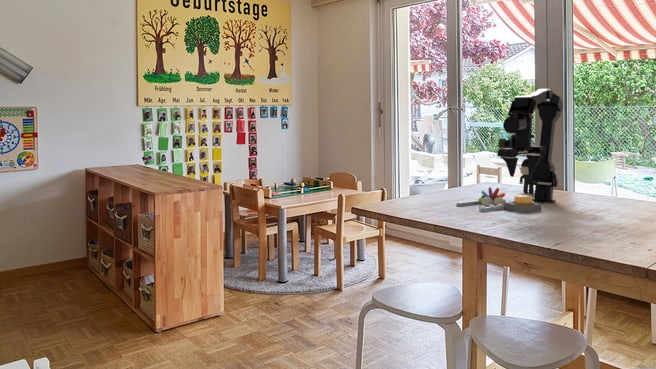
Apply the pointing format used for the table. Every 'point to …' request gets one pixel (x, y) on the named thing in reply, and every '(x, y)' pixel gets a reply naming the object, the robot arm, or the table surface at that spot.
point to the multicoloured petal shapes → (492, 198)
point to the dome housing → (523, 207)
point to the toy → (526, 177)
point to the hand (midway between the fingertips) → (521, 175)
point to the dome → (523, 200)
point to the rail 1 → (468, 203)
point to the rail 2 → (491, 208)
